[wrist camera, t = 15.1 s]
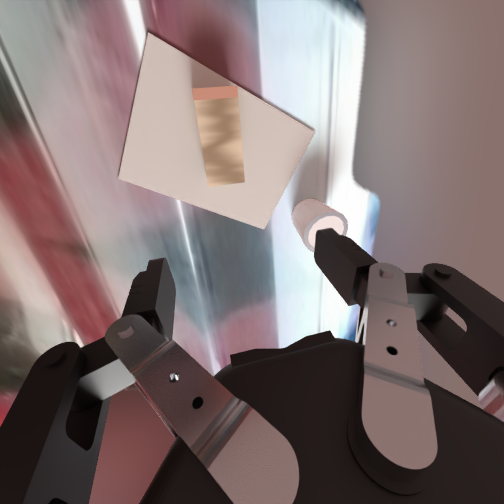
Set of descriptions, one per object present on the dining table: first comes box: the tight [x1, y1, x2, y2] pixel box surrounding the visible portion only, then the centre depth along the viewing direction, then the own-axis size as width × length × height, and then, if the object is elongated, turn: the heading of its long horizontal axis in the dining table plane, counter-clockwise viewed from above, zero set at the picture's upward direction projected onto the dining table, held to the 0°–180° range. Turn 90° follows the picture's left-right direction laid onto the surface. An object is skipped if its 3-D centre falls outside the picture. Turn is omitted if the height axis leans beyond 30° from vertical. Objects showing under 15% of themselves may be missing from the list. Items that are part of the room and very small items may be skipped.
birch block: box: [192, 86, 245, 187], centre depth 29 cm, size 5×5×10 cm
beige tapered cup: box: [291, 198, 348, 252], centre depth 37 cm, size 7×7×7 cm
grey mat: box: [118, 33, 315, 229], centre depth 32 cm, size 22×16×1 cm
